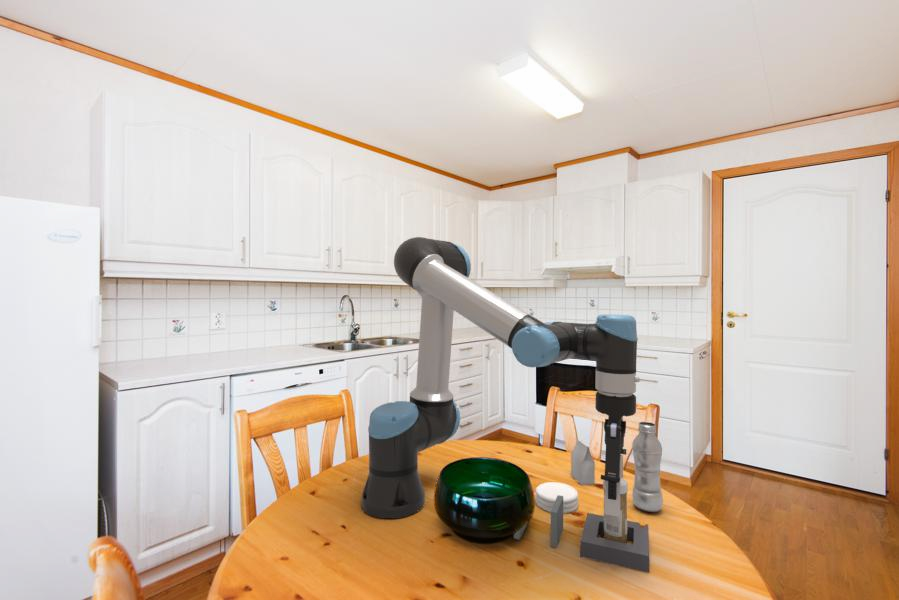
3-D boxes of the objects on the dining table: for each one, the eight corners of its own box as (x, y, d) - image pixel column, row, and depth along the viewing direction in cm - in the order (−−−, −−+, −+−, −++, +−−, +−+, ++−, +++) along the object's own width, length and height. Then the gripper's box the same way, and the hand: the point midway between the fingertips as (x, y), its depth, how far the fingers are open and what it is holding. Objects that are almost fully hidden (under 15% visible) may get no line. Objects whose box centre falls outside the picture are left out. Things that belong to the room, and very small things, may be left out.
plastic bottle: (650, 518, 97) (650, 429, 97) (625, 505, 103) (625, 422, 103) (669, 512, 100) (669, 425, 100) (644, 500, 106) (644, 418, 106)
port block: (580, 556, 82) (580, 539, 82) (587, 526, 93) (587, 510, 93) (649, 572, 78) (649, 554, 78) (648, 539, 89) (648, 522, 89)
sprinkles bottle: (632, 549, 85) (632, 481, 85) (618, 557, 82) (618, 486, 82) (612, 538, 89) (612, 473, 89) (598, 545, 86) (598, 478, 86)
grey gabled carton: (581, 485, 114) (581, 447, 114) (571, 475, 121) (571, 439, 121) (594, 484, 115) (594, 447, 115) (583, 474, 121) (583, 439, 121)
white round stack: (559, 492, 111) (559, 478, 111) (587, 509, 102) (587, 494, 102) (527, 500, 106) (527, 485, 106) (553, 518, 97) (553, 503, 97)
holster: (513, 538, 89) (513, 504, 89) (523, 520, 96) (523, 488, 96) (556, 548, 85) (556, 513, 85) (563, 528, 93) (563, 496, 93)
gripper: (635, 409, 73) (633, 534, 73) (636, 382, 95) (635, 478, 96) (589, 404, 76) (587, 524, 76) (600, 379, 98) (599, 472, 99)
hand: (614, 499), depth 86 cm, fingers open, 13 cm apart
